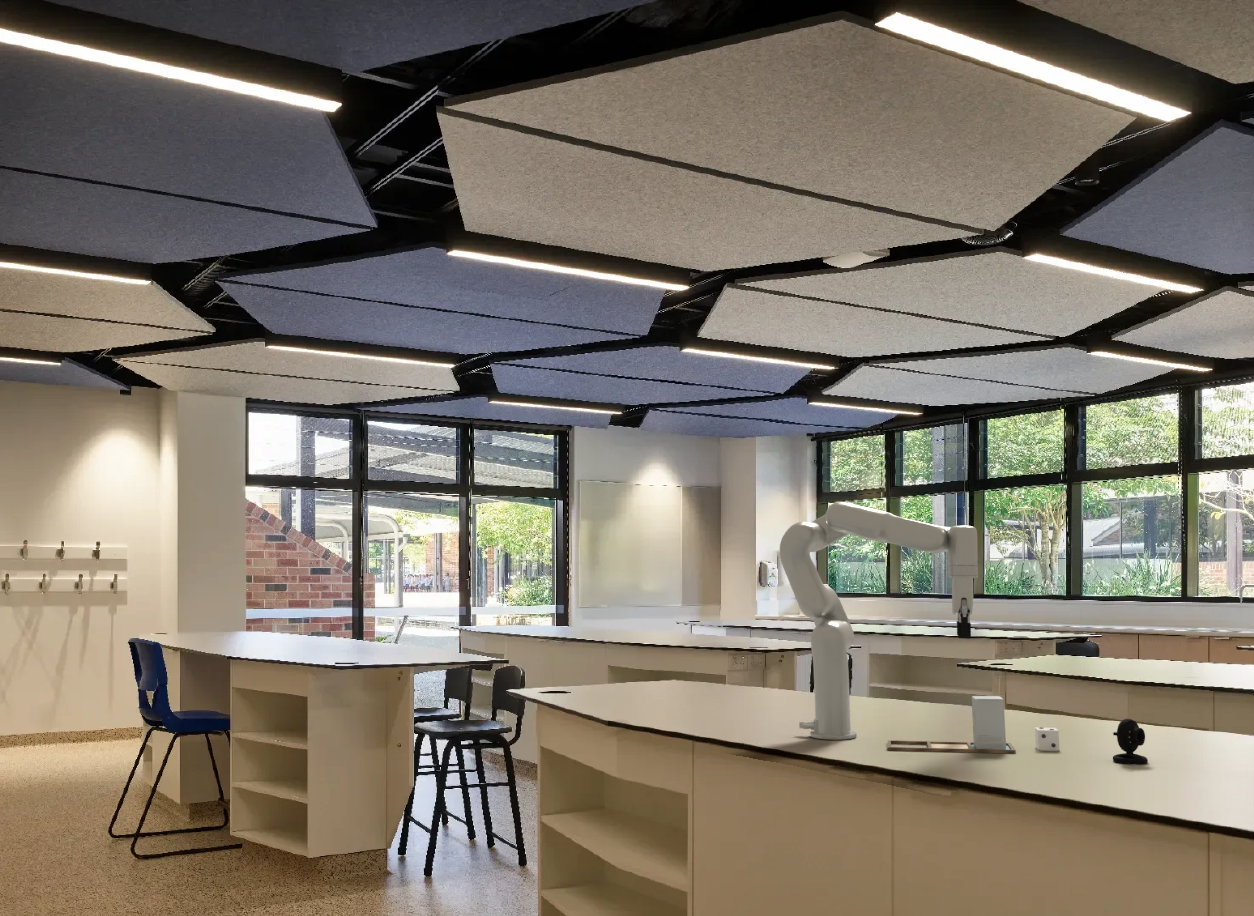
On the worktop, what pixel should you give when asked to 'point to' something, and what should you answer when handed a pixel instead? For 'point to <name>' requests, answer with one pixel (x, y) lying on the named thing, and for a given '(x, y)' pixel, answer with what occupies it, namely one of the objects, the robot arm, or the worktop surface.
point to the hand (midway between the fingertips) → (963, 637)
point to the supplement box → (988, 722)
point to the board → (947, 747)
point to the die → (1047, 739)
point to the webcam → (1129, 742)
